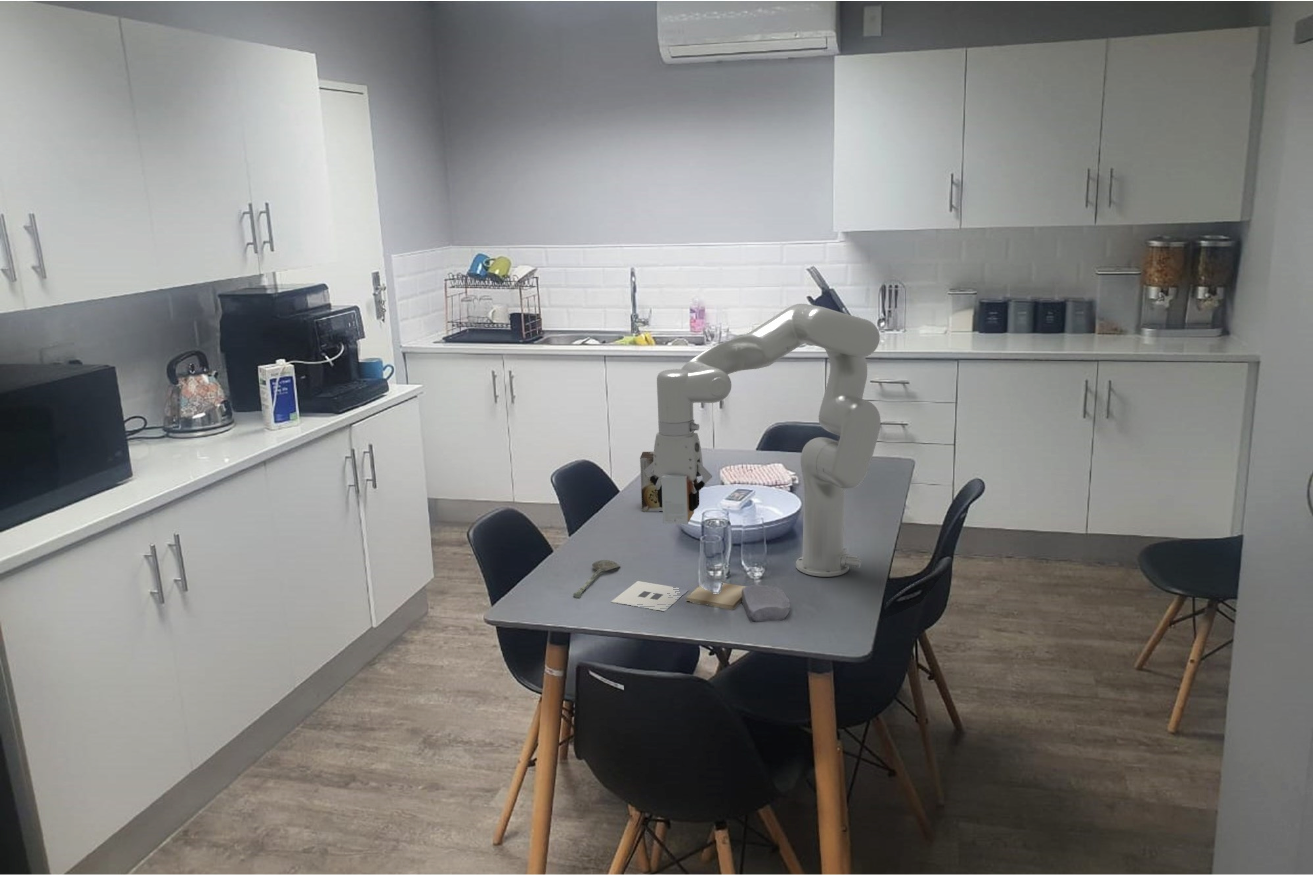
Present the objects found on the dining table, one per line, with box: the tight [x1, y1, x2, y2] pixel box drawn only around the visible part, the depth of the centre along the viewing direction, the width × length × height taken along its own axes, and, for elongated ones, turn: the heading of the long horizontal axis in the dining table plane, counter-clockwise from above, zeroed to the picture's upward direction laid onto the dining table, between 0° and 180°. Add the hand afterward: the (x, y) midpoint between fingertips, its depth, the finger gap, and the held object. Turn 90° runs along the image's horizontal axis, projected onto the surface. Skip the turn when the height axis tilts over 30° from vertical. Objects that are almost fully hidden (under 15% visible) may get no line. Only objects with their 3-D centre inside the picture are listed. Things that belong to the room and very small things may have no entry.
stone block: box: [741, 584, 791, 623], centre depth 211 cm, size 12×5×10 cm
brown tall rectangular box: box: [639, 451, 663, 512], centre depth 280 cm, size 9×6×16 cm
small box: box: [661, 474, 695, 525], centre depth 214 cm, size 8×6×10 cm
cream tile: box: [610, 580, 682, 612], centre depth 220 cm, size 13×13×1 cm
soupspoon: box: [572, 559, 621, 599], centre depth 230 cm, size 22×3×7 cm
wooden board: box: [685, 582, 746, 611], centre depth 219 cm, size 11×11×1 cm
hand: (678, 506), depth 215 cm, fingers closed on small box, 6 cm apart
